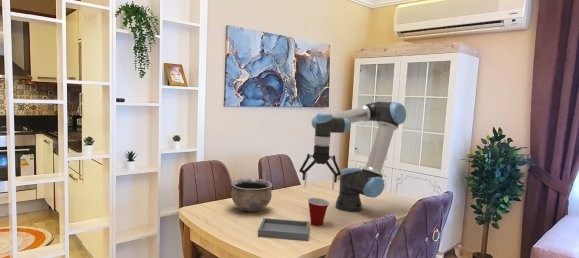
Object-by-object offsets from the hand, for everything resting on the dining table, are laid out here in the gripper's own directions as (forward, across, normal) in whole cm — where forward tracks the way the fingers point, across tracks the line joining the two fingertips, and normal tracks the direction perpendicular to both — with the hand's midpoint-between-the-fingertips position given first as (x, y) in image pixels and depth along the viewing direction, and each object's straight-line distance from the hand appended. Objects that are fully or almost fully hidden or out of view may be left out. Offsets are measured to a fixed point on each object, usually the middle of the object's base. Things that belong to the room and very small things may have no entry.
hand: (318, 187), depth 177 cm
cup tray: (+18, +15, +14) cm, 27 cm away
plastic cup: (+19, 0, 0) cm, 19 cm away
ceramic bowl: (+19, +36, -14) cm, 43 cm away
